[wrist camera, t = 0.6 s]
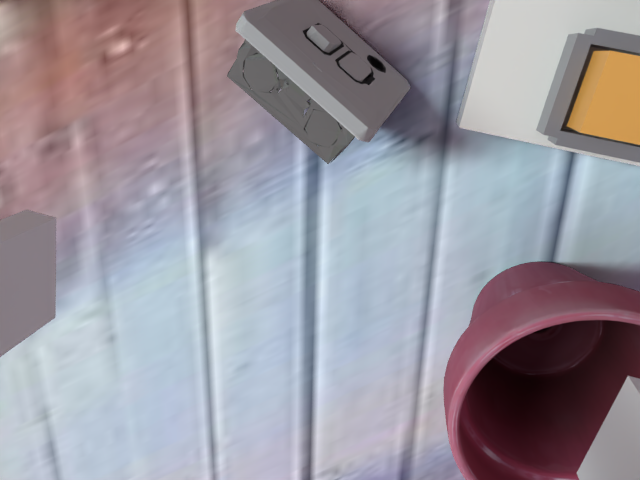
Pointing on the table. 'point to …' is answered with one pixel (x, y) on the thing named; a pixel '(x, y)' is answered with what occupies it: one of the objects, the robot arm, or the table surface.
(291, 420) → the table surface
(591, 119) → the orange button
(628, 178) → the table surface
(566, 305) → the plant pot
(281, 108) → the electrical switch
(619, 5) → the switch panel
